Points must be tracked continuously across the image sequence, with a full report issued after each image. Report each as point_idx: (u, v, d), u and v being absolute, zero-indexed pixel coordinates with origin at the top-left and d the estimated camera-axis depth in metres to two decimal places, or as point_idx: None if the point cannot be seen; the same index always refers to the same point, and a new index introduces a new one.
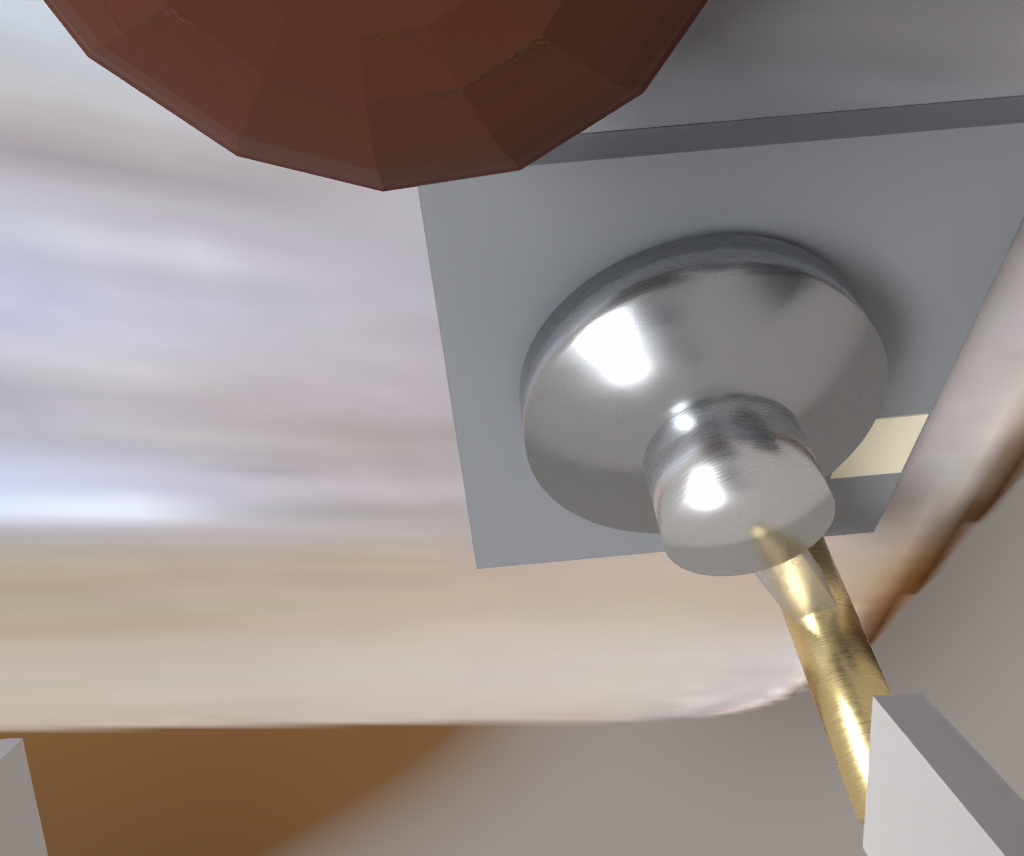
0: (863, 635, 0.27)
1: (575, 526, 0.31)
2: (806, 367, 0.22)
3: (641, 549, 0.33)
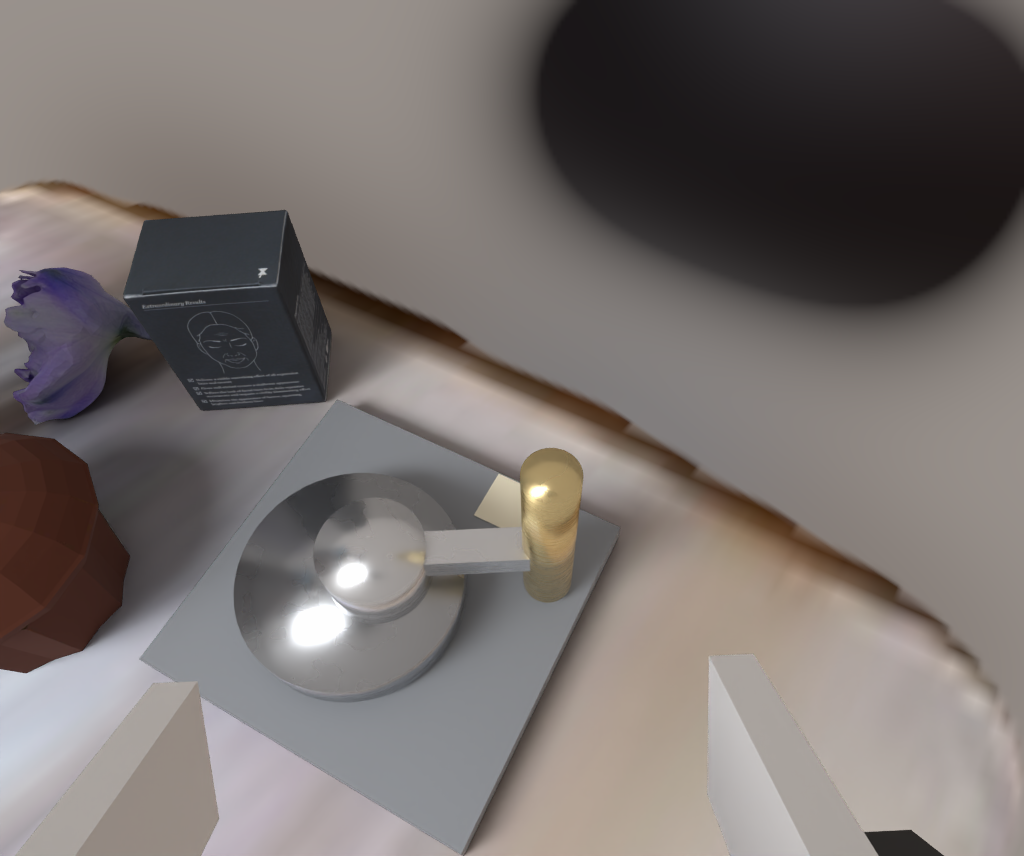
0: None
1: (460, 734, 0.35)
2: None
3: (529, 699, 0.36)
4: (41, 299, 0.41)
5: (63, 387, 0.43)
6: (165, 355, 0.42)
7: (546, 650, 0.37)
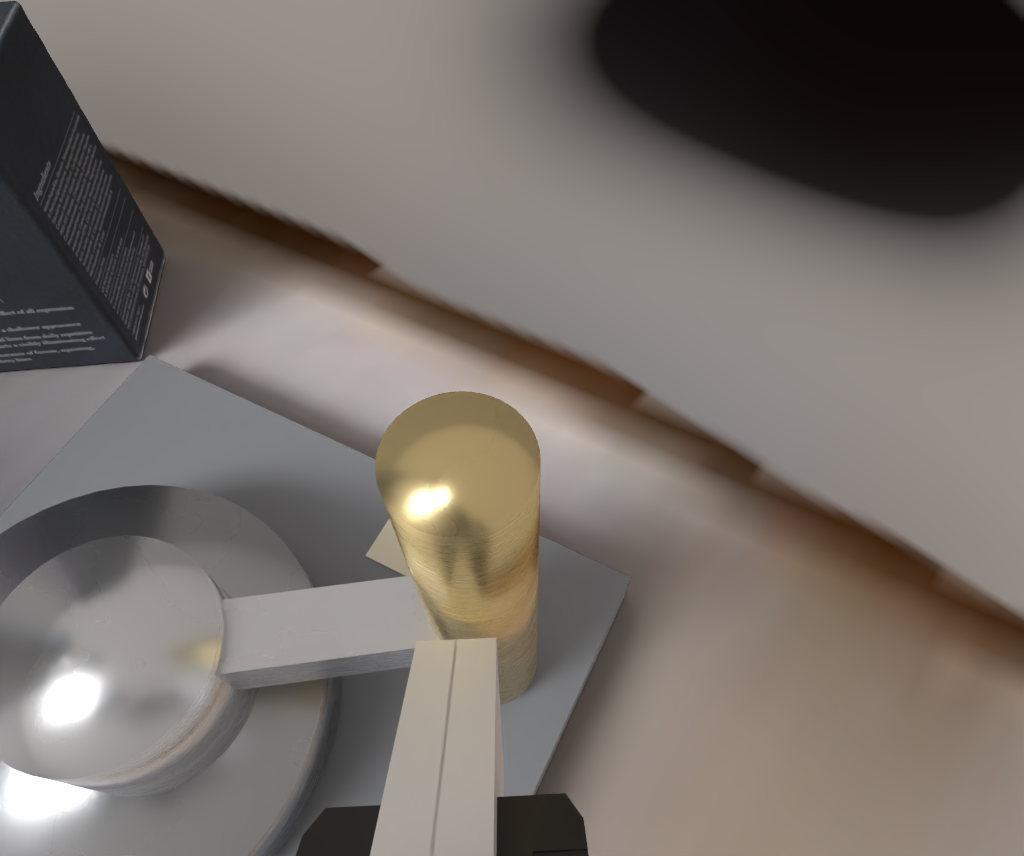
0: None
1: None
2: None
3: None
4: None
5: None
6: None
7: None
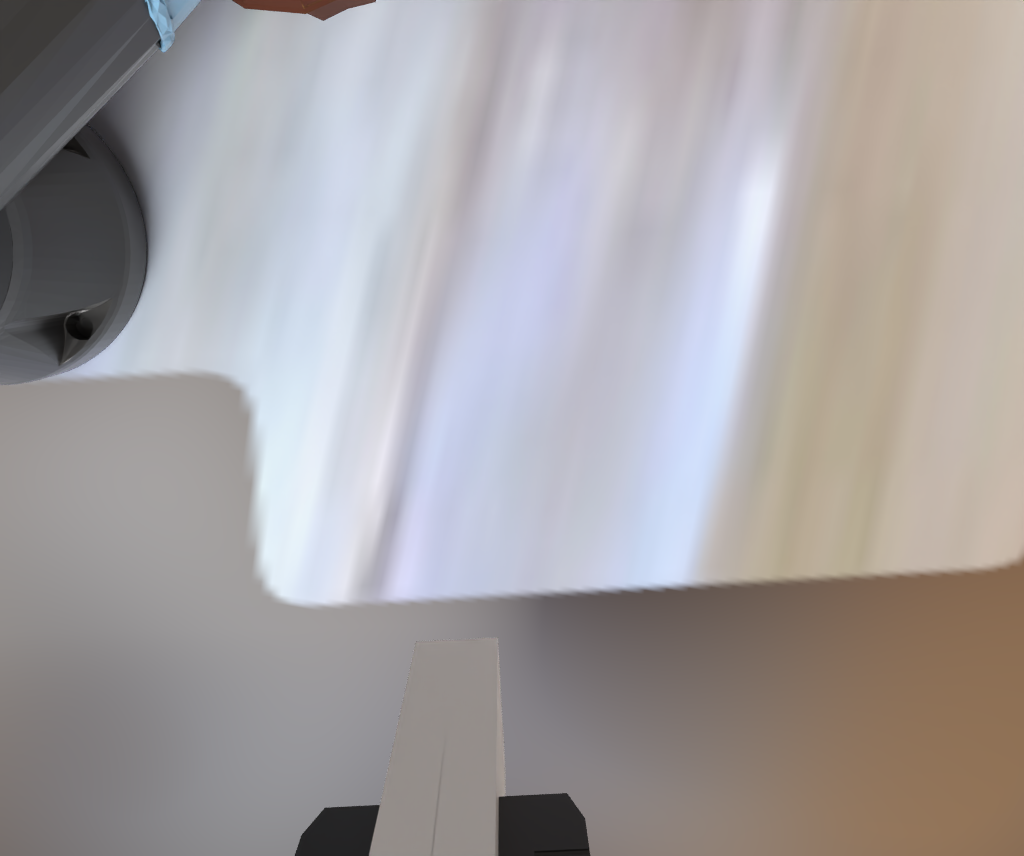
0: None
1: None
2: None
3: None
4: None
5: None
6: None
7: None
